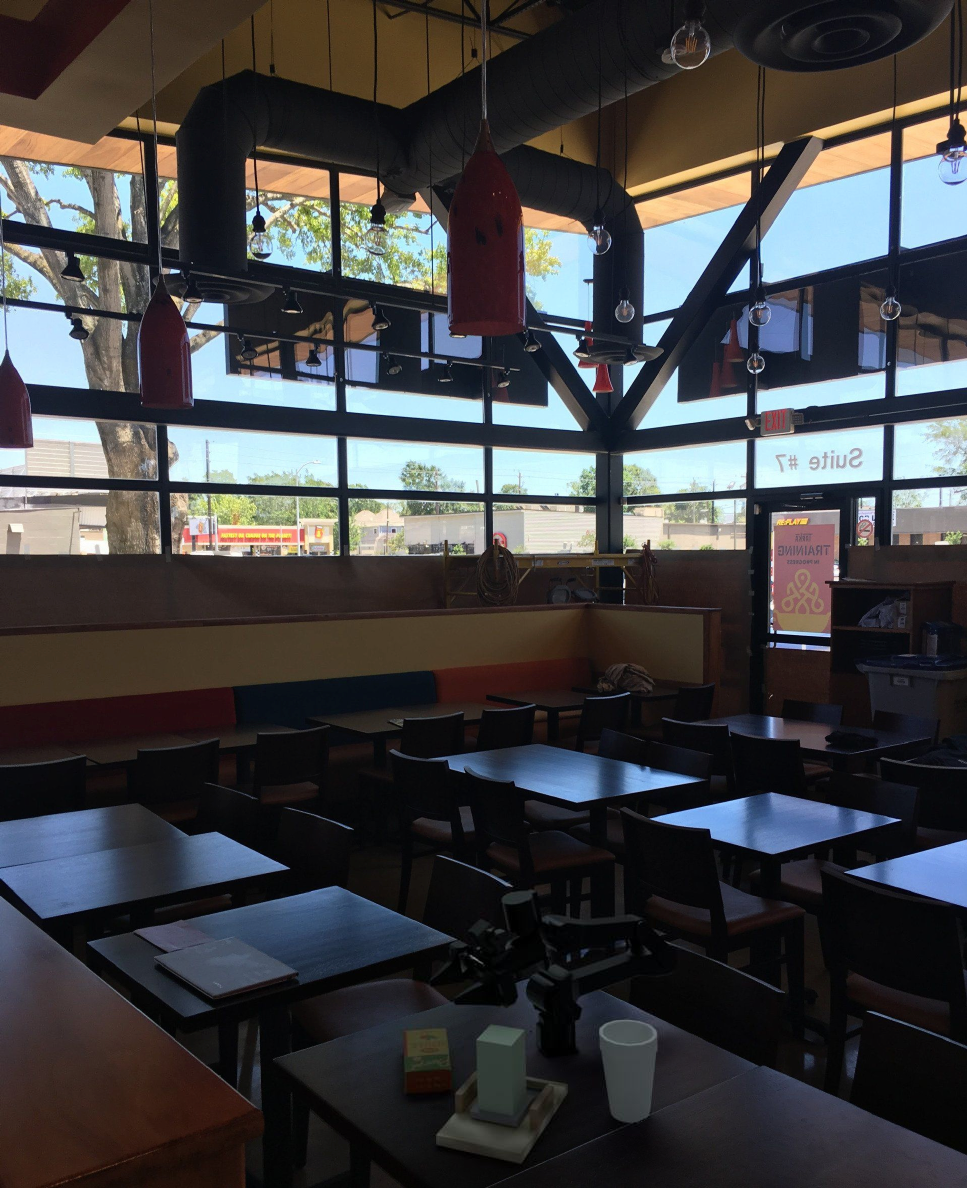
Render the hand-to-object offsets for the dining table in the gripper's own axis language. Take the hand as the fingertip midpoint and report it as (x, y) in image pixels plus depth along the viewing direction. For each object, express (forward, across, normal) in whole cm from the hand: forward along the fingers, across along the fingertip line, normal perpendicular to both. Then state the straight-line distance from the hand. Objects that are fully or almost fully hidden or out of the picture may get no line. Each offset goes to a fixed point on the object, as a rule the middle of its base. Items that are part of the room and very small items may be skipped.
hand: (441, 992), depth 168 cm
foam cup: (-17, +25, +20) cm, 36 cm away
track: (0, +16, +16) cm, 22 cm away
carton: (+4, -6, +16) cm, 17 cm away
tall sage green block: (+1, +16, +14) cm, 21 cm away
